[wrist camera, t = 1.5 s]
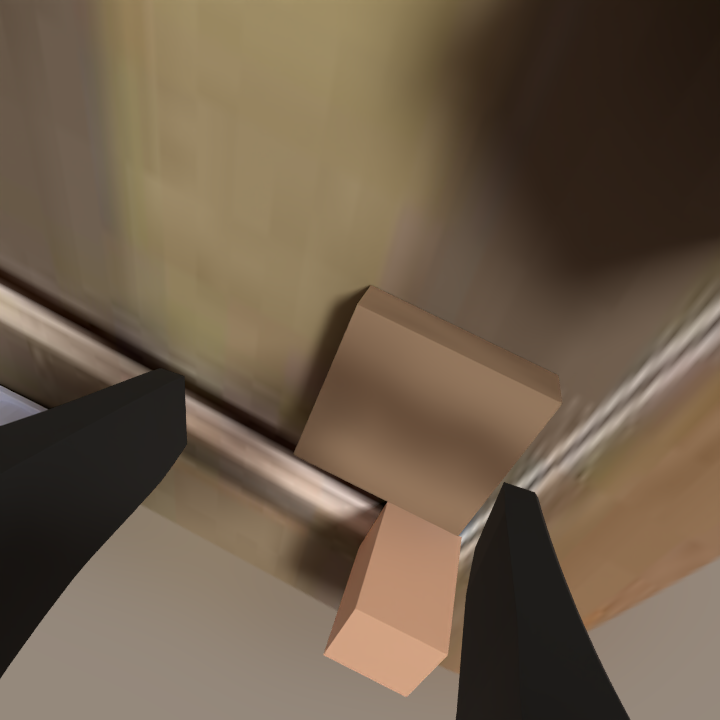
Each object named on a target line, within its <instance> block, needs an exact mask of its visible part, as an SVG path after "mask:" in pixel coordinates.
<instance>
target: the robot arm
mask: <svg viewBox="0 0 720 720" xmlns="http://www.w3.org/2000/svg"><path fill="white" fill-rule="evenodd" d="M186 445H187V431H186V406H185V381H184V376H183V375H180V374H177V373H174V372H171V371H167V370H164V369H161V368H160V369H157V370H154V371H150V372H148V373H145V374H142V375H139V376H137V377H134V378H131V379H129V380H126V381H123V382H121V383H118V384H116V385H113V386H110V387H108V388H105V389H103V390H100V391H97V392H95V393H92V394H89V395H87V396H84V397H82V398H79V399H76V400H74V401H71V402H68V403H66V404H63V405H60V406H58V407H55V408H52V409H49V410H48V409H46V408H44V407H42V406H40V405H38V404H36V403H34V402H32V401H30V400H28V399H26V398H24V397H22V396H20V395H18V394H16V393H14V392H12V391H10V390H9V389H7V388H5V387H3V386H1V385H0V678H1V677H2V675H3V674H4V672H5V671H6V669H7V667H8V666H9V665H10V663H11V662H12V661H13V659H14V658H15V657H16V655H17V654H18V652H19V651H20V649H21V648H22V647H23V645H24V644H25V643H26V641H27V640H28V638H29V637H30V636H31V634H32V633H33V632H34V630H35V629H36V627H37V626H38V624H39V623H40V622H41V620H42V619H43V618H44V616H45V615H46V614H47V612H48V611H49V610H50V609H51V607H52V606H53V605H54V603H55V602H56V601H57V599H58V598H59V597H60V595H61V594H62V593H63V591H64V590H65V589H66V587H67V586H68V585H69V584H70V582H71V581H72V580H73V578H74V577H75V576H76V575H77V574H78V572H79V571H80V570H81V569H82V568H83V566H84V565H85V564H86V563H87V562H88V561H89V560H90V558H91V557H92V556H93V555H94V554H95V553H96V551H98V550H99V549H100V547H101V546H102V545H103V544H104V543H105V542H106V541H107V540H108V539H109V538H110V537H111V536H112V535H113V533H114V532H115V531H116V530H117V529H118V528H119V527H120V526H121V525H122V524H123V523H124V522H125V520H126V519H127V518H128V517H129V516H130V515H131V514H132V513H133V512H134V511H135V510H136V509H137V507H138V506H139V505H140V504H141V503H142V502H143V501H144V500H145V499H146V498H147V496H148V495H149V494H150V493H151V492H152V491H153V490H154V489H155V488H156V486H157V485H158V484H159V483H160V482H161V481H162V479H163V478H164V477H165V475H166V474H167V472H168V471H169V470H170V468H171V467H172V466H173V464H174V463H175V461H176V460H177V458H178V457H179V455H180V454H181V452H182V451H183V449H184V448H185V446H186ZM456 720H630V718H629V716H628V714H627V713H626V711H625V709H624V707H623V705H622V703H621V701H620V699H619V697H618V695H617V694H616V692H615V690H614V688H613V686H612V684H611V682H610V680H609V678H608V676H607V674H606V672H605V670H604V668H603V666H602V664H601V661H600V659H599V657H598V655H597V653H596V651H595V649H594V646H593V644H592V642H591V640H590V638H589V635H588V633H587V631H586V629H585V626H584V624H583V622H582V620H581V617H580V615H579V612H578V610H577V608H576V605H575V603H574V600H573V598H572V595H571V593H570V590H569V588H568V585H567V583H566V580H565V577H564V575H563V572H562V570H561V567H560V564H559V562H558V559H557V556H556V553H555V550H554V547H553V544H552V541H551V539H550V536H549V533H548V529H547V526H546V523H545V520H544V517H543V513H542V510H541V507H540V503H539V499H538V497H537V495H536V494H535V492H532V491H529V490H526V489H523V488H520V487H517V486H514V485H511V484H508V483H505V482H504V483H503V486H502V488H501V490H500V493H499V495H498V497H497V499H496V502H495V504H494V506H493V508H492V511H491V513H490V515H489V518H488V520H487V522H486V524H485V527H484V529H483V531H482V533H481V536H480V538H479V540H478V543H477V545H476V547H475V552H474V557H473V562H472V567H471V572H470V577H469V582H468V588H467V593H466V602H465V614H464V626H463V639H462V651H461V664H460V678H459V690H458V703H457V714H456Z"/></svg>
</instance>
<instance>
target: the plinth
mask: <svg viewBox="0 0 720 720" xmlns="http://www.w3.org/2000/svg"><path fill="white" fill-rule="evenodd" d="M561 405H562V398H561V391H560V384H559V377H558V375H556V374H554V373H552V372H550V371H548V370H546V369H544V368H542V367H540V366H538V365H536V364H534V363H532V362H529V361H527V360H525V359H523V358H521V357H519V356H517V355H515V354H513V353H511V352H509V351H507V350H505V349H503V348H500V347H498V346H496V345H494V344H492V343H490V342H488V341H486V340H484V339H482V338H480V337H478V336H476V335H474V334H471V333H469V332H467V331H465V330H463V329H461V328H459V327H457V326H455V325H453V324H451V323H449V322H447V321H444V320H442V319H440V318H438V317H436V316H434V315H432V314H430V313H428V312H426V311H424V310H422V309H420V308H418V307H415V306H413V305H411V304H409V303H407V302H405V301H403V300H401V299H399V298H397V297H395V296H393V295H391V294H389V293H386V292H384V291H382V290H380V289H378V288H376V287H374V286H372V285H370V287H369V288H368V290H367V291H366V293H365V294H364V295H363V297H362V298H361V300H360V301H359V302H358V304H357V306H356V308H355V311H354V313H353V315H352V318H351V320H350V322H349V325H348V327H347V330H346V332H345V334H344V337H343V339H342V341H341V344H340V346H339V348H338V351H337V353H336V355H335V358H334V360H333V362H332V365H331V367H330V369H329V372H328V374H327V376H326V379H325V381H324V383H323V386H322V388H321V391H320V393H319V395H318V398H317V400H316V402H315V405H314V407H313V409H312V412H311V414H310V416H309V419H308V421H307V423H306V426H305V428H304V430H303V433H302V435H301V437H300V440H299V442H298V444H297V447H296V449H295V452H294V454H293V455H295V456H297V457H299V458H301V459H303V460H305V461H307V462H309V463H311V464H313V465H315V466H317V467H319V468H321V469H323V470H325V471H327V472H329V473H331V474H333V475H335V476H337V477H339V478H341V479H343V480H345V481H347V482H349V483H351V484H353V485H355V486H358V487H360V488H362V489H364V490H366V491H368V492H370V493H372V494H374V495H376V496H378V497H380V498H382V499H384V500H386V501H388V502H390V503H392V504H394V505H396V506H398V507H400V508H402V509H404V510H406V511H408V512H410V513H412V514H414V515H416V516H418V517H420V518H422V519H424V520H426V521H428V522H430V523H432V524H434V525H436V526H438V527H440V528H442V529H444V530H446V531H448V532H450V533H452V534H454V535H456V536H458V535H459V534H460V533H461V532H462V530H463V529H464V528H465V526H466V525H467V524H468V523H469V521H470V520H471V519H472V518H473V516H474V515H475V514H476V513H477V511H478V510H479V509H480V507H481V506H482V505H483V504H484V502H485V501H486V500H487V499H488V497H489V496H490V495H491V493H492V492H493V491H494V490H495V488H496V487H497V486H498V485H499V483H500V482H501V481H502V479H503V478H504V477H505V476H506V474H507V473H508V472H509V471H510V469H511V468H512V467H513V466H514V464H515V463H516V462H517V460H518V459H519V458H520V457H521V455H522V454H523V453H524V452H525V450H526V449H527V448H528V446H529V445H530V444H531V443H532V441H533V440H534V439H535V438H536V436H537V435H538V434H539V432H540V431H541V430H542V429H543V427H544V426H545V425H546V424H547V422H548V421H549V420H550V419H551V417H552V416H553V415H554V413H555V412H556V411H557V410H558V408H559V407H560V406H561Z"/></svg>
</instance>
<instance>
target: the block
mask: <svg viewBox="0 0 720 720" xmlns="http://www.w3.org/2000/svg"><path fill="white" fill-rule="evenodd" d="M461 538H462V537H460V536H456V535H454V534H452V533H450V532H448V531H446V530H444V529H442V528H440V527H438V526H436V525H434V524H432V523H430V522H428V521H426V520H424V519H422V518H420V517H418V516H416V515H414V514H412V513H410V512H408V511H406V510H404V509H402V508H400V507H398V506H396V505H394V504H392V503H390V502H387V503H386V505H385V506H384V508H383V510H382V511H381V513H380V514H379V516H378V518H377V519H376V521H375V522H374V524H373V526H372V527H371V529H370V531H369V532H368V534H367V535H366V537H365V539H364V540H363V542H362V543H361V545H360V547H359V549H358V552H357V555H356V558H355V561H354V564H353V567H352V570H351V573H350V576H349V579H348V582H347V585H346V588H345V591H344V594H343V597H342V600H341V603H340V606H339V609H338V612H337V616H336V618H335V621H334V624H333V627H332V631H331V633H330V636H329V639H328V642H327V646H326V648H325V652H324V655H325V656H326V657H329V658H330V659H332V660H334V661H336V662H338V663H340V664H342V665H344V666H346V667H348V668H350V669H352V670H354V671H356V672H358V673H360V674H362V675H364V676H366V677H368V678H370V679H372V680H374V681H376V682H378V683H380V684H381V685H383V686H386V687H387V688H389V689H391V690H393V691H395V692H397V693H399V694H401V695H403V696H405V697H407V696H408V695H409V694H410V693H411V692H412V691H413V690H414V689H415V688H416V687H417V686H418V685H419V684H420V683H421V682H422V681H423V680H424V679H425V678H426V677H427V676H428V675H429V673H431V672H432V670H433V669H435V667H437V665H438V664H439V663H440V662H441V661H442V660H443V659H444V658H445V657H446V656H447V655H448V649H449V640H450V632H451V623H452V615H453V606H454V598H455V589H456V580H457V572H458V563H459V555H460V546H461Z"/></svg>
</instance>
